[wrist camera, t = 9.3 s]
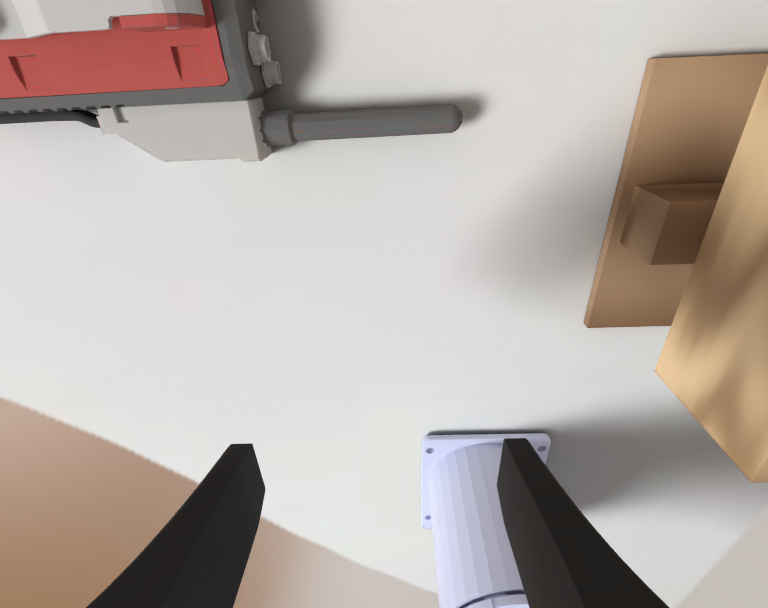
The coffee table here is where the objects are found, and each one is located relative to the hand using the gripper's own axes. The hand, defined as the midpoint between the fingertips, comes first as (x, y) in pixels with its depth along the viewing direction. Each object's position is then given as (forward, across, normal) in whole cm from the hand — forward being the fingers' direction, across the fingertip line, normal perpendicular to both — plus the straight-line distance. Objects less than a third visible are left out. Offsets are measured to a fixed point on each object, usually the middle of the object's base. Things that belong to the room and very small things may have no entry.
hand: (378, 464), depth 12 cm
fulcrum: (+10, -15, -4) cm, 18 cm away
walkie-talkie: (+11, +7, -11) cm, 17 cm away
